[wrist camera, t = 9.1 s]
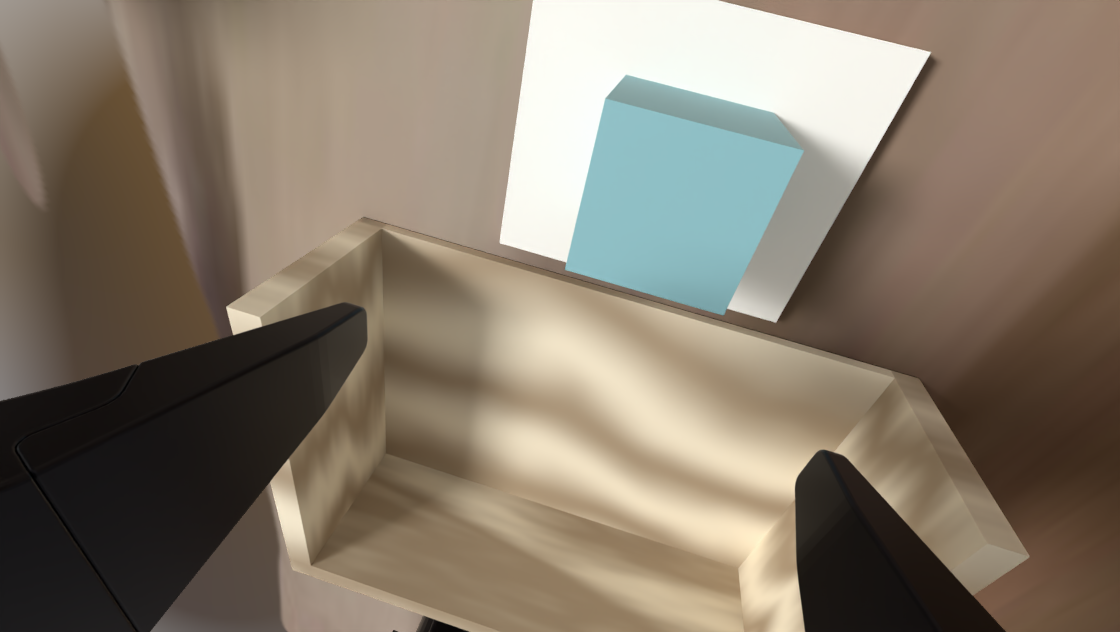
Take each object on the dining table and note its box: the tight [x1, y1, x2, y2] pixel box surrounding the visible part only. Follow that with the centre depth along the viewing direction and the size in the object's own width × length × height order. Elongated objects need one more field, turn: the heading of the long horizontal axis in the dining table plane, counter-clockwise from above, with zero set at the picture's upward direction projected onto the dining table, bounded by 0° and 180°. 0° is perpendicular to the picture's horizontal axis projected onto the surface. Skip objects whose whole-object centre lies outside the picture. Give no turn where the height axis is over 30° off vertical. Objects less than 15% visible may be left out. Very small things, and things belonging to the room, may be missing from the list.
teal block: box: [565, 75, 804, 316], centre depth 15 cm, size 5×5×5 cm
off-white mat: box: [500, 0, 931, 323], centre depth 17 cm, size 10×12×1 cm
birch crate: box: [226, 217, 1030, 632], centre depth 23 cm, size 17×25×8 cm
